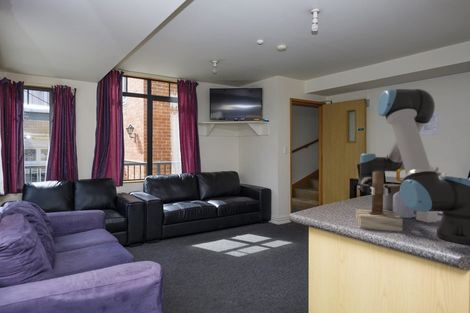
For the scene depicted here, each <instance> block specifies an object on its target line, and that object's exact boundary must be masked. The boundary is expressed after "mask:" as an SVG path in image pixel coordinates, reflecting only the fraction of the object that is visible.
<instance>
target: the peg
mask: <svg viewBox="0 0 470 313" xmlns="http://www.w3.org/2000/svg"><path fill="white" fill-rule="evenodd" d="M384 173H385V171H375V172H373V180H372V187H373V188H375V195H372V194H371V210H372V213H375V214H383V211H384V209H383V184H385V183H384V179H385V178H384Z"/></svg>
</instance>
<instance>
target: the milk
mask: <svg viewBox="0 0 470 313" xmlns="http://www.w3.org/2000/svg"><path fill="white" fill-rule="evenodd" d="M415 217H416V221H420V222H424V223H437V222H438V211H427V212H421V211H416V216H415Z"/></svg>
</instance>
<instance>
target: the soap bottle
mask: <svg viewBox="0 0 470 313" xmlns="http://www.w3.org/2000/svg"><path fill="white" fill-rule="evenodd" d="M401 170H402V171H405V168H401V169H398V170H397V171H396V173H395V174H396V175H395V176H396V181H397V182H400V185H401V184H402V182H403V179H402V180H401V179H400V178H401V177H400V175H401V172H402V171H401ZM400 190H401V189H400ZM393 212H394V213H396V214H397V215H398V216H399V217H401V218H402V219H412V218H413V217H414V212H415V211H413V210H411V209H409V208H408V207H407V206H406V205H405V204H404V203H403V201H402V199H401V196H400V191H399V192H397V193H395V194H394V195H393Z"/></svg>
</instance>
